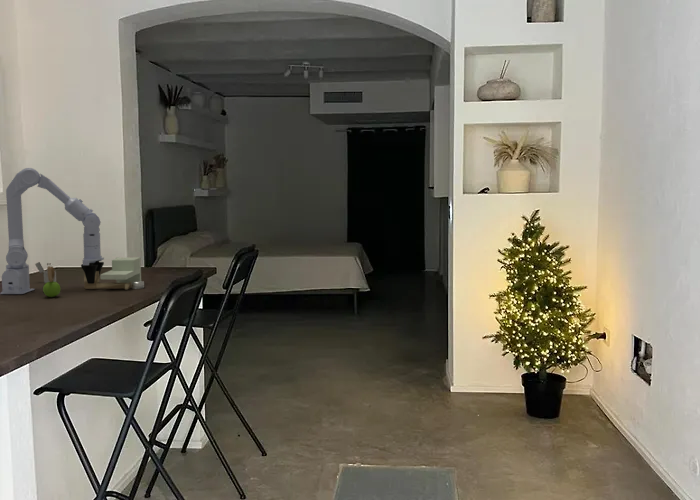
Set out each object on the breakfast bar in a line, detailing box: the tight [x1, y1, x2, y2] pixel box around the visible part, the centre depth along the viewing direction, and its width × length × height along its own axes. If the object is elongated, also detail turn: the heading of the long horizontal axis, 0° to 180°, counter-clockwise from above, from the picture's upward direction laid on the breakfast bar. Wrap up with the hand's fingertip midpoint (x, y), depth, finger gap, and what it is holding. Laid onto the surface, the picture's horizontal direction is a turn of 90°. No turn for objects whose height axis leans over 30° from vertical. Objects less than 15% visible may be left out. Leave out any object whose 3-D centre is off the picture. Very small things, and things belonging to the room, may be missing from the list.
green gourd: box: [42, 262, 61, 298], centre depth 214 cm, size 5×6×12 cm
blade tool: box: [83, 271, 132, 290], centre depth 235 cm, size 7×16×6 cm, turn 93°
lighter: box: [34, 261, 57, 284], centre depth 248 cm, size 7×2×8 cm, turn 100°
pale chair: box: [99, 256, 142, 283], centre depth 238 cm, size 20×9×10 cm, turn 3°
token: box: [131, 280, 145, 290], centre depth 236 cm, size 4×4×2 cm
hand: (93, 282), depth 235 cm, fingers closed on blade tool, 4 cm apart
